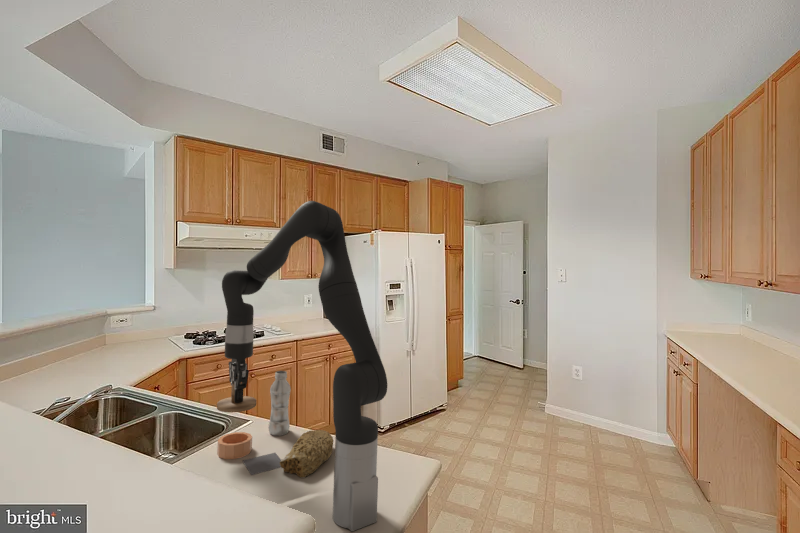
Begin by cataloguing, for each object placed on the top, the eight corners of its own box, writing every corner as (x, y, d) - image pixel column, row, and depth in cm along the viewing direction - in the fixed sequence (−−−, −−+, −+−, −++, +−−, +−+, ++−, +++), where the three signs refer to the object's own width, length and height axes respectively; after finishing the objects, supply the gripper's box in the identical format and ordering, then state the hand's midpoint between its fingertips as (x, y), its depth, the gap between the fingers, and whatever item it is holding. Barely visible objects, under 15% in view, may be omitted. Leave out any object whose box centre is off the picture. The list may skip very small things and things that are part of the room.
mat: (285, 468, 104) (286, 465, 104) (251, 478, 99) (251, 474, 99) (275, 455, 112) (275, 452, 112) (242, 463, 107) (242, 460, 107)
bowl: (254, 456, 111) (255, 440, 111) (221, 464, 105) (221, 447, 106) (246, 445, 118) (247, 430, 118) (214, 452, 113) (215, 436, 113)
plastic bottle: (273, 440, 121) (276, 376, 122) (264, 433, 126) (267, 371, 127) (293, 435, 126) (295, 372, 126) (283, 428, 131) (285, 368, 131)
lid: (260, 408, 111) (261, 386, 111) (221, 415, 105) (221, 391, 105) (250, 397, 119) (251, 377, 119) (213, 403, 113) (214, 382, 113)
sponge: (312, 488, 98) (350, 441, 116) (304, 459, 97) (344, 417, 115) (271, 485, 103) (314, 440, 121) (264, 458, 102) (308, 417, 121)
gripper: (259, 343, 109) (257, 405, 108) (246, 335, 120) (244, 392, 120) (231, 345, 104) (228, 410, 104) (220, 337, 116) (217, 395, 115)
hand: (237, 400), depth 112 cm, fingers closed on lid, 3 cm apart
